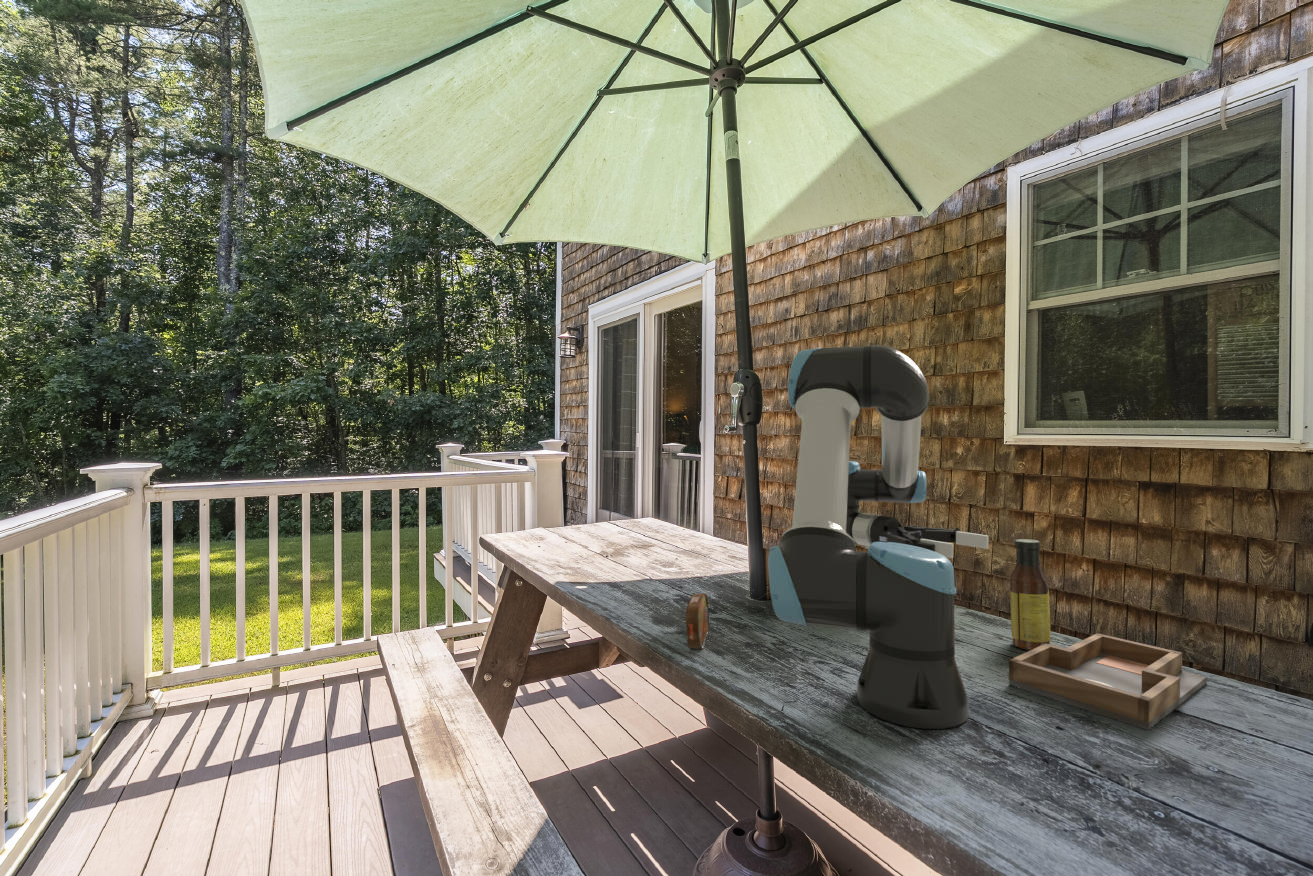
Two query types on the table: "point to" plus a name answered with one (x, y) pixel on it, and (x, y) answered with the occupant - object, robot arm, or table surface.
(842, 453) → the robot arm
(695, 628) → the tin
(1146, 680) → the keyhole guide
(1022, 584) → the sauce bottle
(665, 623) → the table surface
